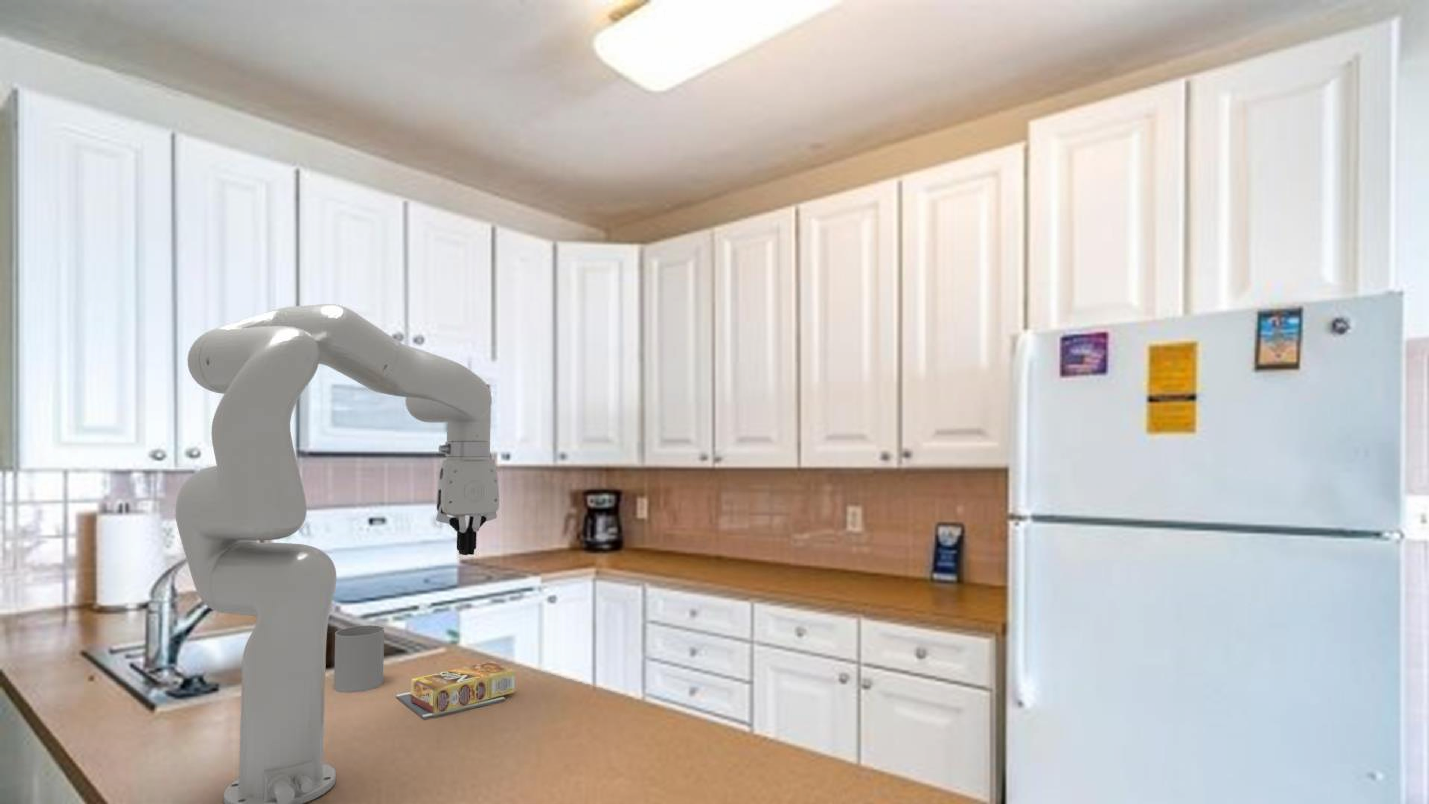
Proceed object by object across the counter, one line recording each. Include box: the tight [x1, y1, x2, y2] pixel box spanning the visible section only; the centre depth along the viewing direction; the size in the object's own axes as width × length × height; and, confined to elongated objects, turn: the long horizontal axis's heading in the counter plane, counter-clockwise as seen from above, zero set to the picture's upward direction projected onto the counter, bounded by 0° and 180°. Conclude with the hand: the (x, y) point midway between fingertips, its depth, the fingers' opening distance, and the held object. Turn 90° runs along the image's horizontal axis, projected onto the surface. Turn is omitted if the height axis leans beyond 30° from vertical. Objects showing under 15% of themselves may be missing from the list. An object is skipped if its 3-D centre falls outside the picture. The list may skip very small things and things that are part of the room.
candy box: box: [410, 660, 516, 714], centre depth 133 cm, size 9×4×15 cm
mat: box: [395, 691, 506, 720], centre depth 134 cm, size 14×14×1 cm
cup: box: [333, 624, 385, 694], centre depth 142 cm, size 8×8×10 cm
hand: (466, 553), depth 137 cm, fingers closed
